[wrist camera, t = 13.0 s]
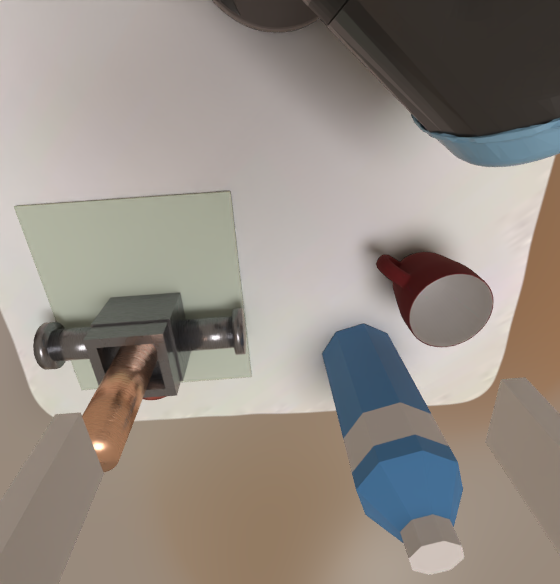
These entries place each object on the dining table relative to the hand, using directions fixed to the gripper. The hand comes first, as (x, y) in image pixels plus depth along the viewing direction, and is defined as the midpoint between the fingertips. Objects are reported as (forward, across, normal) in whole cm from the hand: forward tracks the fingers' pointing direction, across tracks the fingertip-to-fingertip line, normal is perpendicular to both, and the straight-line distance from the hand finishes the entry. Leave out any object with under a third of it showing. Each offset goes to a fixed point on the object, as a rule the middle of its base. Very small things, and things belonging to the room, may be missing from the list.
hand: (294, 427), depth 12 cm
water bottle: (+32, +10, -21) cm, 39 cm away
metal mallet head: (+31, -15, -15) cm, 38 cm away
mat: (+32, -15, -11) cm, 37 cm away
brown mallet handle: (+25, -15, -14) cm, 33 cm away
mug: (+32, +15, -9) cm, 36 cm away
